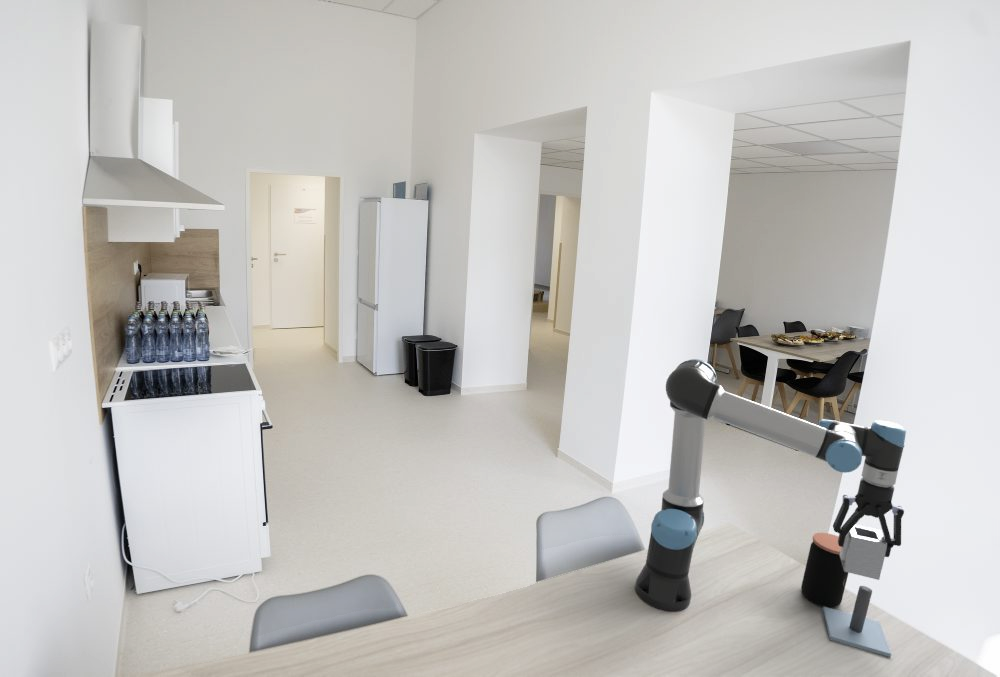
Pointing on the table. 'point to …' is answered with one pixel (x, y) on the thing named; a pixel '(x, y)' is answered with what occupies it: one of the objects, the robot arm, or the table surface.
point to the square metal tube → (864, 552)
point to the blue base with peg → (857, 626)
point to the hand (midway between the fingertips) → (860, 561)
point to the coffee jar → (824, 572)
